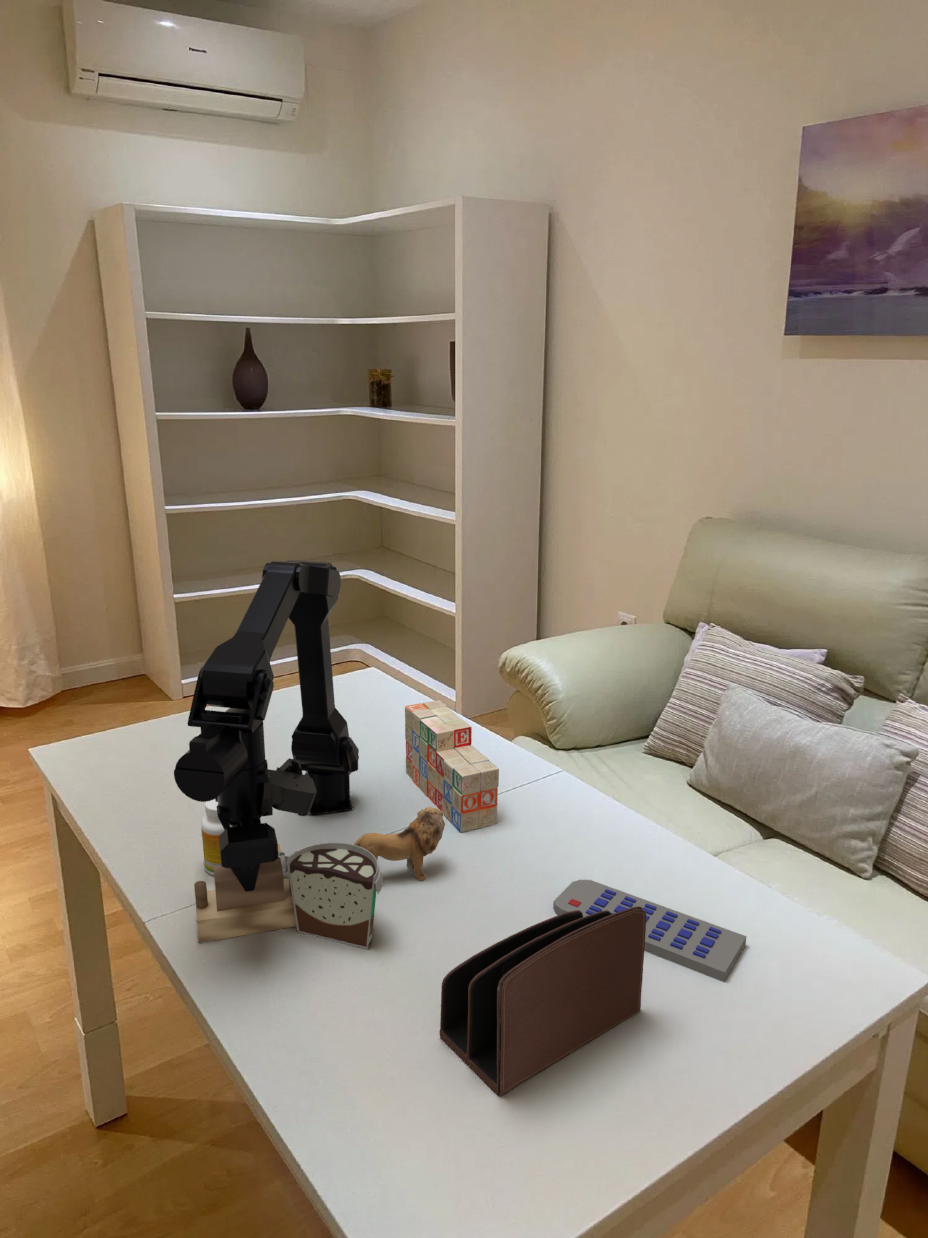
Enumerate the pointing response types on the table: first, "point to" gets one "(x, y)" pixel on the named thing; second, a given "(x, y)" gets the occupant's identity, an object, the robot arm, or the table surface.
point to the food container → (335, 892)
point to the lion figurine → (408, 841)
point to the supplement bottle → (211, 837)
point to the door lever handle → (283, 862)
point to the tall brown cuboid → (236, 897)
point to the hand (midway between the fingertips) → (248, 876)
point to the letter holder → (543, 993)
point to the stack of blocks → (450, 766)
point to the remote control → (661, 928)
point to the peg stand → (240, 915)
